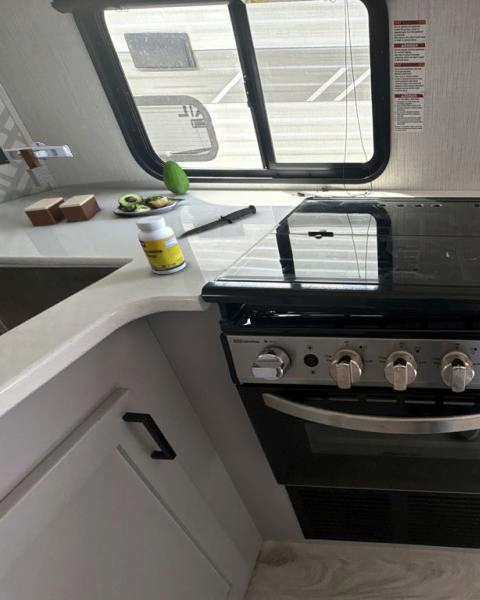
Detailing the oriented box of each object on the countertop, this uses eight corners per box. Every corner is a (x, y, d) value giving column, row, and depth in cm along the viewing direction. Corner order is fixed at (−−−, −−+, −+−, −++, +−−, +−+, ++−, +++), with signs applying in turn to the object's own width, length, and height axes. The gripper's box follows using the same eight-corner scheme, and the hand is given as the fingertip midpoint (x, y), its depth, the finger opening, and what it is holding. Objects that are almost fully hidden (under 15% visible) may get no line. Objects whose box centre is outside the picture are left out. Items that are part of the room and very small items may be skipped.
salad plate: (189, 198, 120) (184, 185, 118) (183, 212, 106) (178, 197, 104) (126, 205, 114) (119, 191, 111) (111, 220, 100) (103, 205, 97)
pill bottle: (146, 274, 70) (122, 223, 64) (169, 261, 75) (149, 213, 69) (171, 276, 68) (149, 225, 63) (193, 263, 74) (174, 215, 68)
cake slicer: (42, 186, 120) (22, 150, 114) (34, 187, 120) (13, 151, 113) (54, 180, 128) (36, 147, 122) (46, 181, 128) (27, 147, 121)
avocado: (185, 196, 122) (173, 162, 116) (164, 196, 122) (151, 162, 116) (197, 191, 129) (186, 158, 123) (177, 191, 129) (165, 158, 123)
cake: (88, 220, 101) (79, 203, 98) (33, 226, 96) (23, 209, 94) (100, 209, 110) (93, 194, 107) (51, 214, 106) (42, 199, 103)
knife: (250, 209, 105) (251, 202, 103) (260, 218, 104) (261, 212, 102) (170, 231, 88) (169, 224, 86) (180, 243, 87) (180, 236, 85)
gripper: (4, 143, 124) (-18, 147, 113) (72, 140, 130) (57, 144, 120) (15, 161, 127) (-6, 167, 116) (80, 157, 134) (67, 162, 123)
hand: (27, 155), depth 118 cm, fingers closed on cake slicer, 2 cm apart
